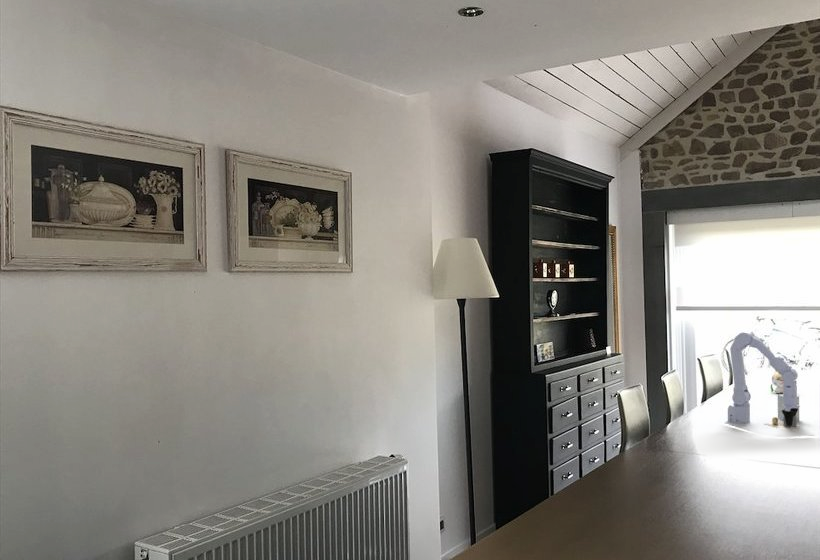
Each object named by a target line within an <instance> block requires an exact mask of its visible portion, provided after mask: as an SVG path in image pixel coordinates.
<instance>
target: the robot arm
mask: <svg viewBox="0 0 820 560" xmlns="http://www.w3.org/2000/svg"><path fill="white" fill-rule="evenodd" d="M747 347H750V348H754V349H756V350H758V351H759V352H760V353H761V354H762V355H763V356H764V357H766V358H767V360H768V361H769V366H770V367H772V368H773V370H774V371H777V372H778V373H779V374H780V375H782V376H781V377H782V379H783V393H782V395H783V407H785V410H782V413H783V415H784V417H785V421H786V425H787V426H792V422H793V417H794V416H796V413H797V411H798V408H796V407H799V408H800V407H801V405H800V404H799V405H797V396H798V385H797V379H798V378H799V377H798V376H799V375H798V372H797V371H796V369H794V368H793V367H792V366H790V365H789V364H788V363H787V362H786V361H785V358H784V357H781V356H776V355H775V354H774V353H773V352H772V351H771V350H770V349H769V348H768V347H767V345H766V344H765V343H764V342H763V341H762V340H761V339H760V338H759V337H758V336H757V335H755V333H754V332H752V331H744V332H743V331H742V332H740V333H738V334H737V335H736V336H735V337H734V340H733V341H732V343H731V346H730V348H729V349H730V350H729V351H730V358H731V366H732V374H733V381H734V382H733V383H734V387H733V394H732V396H731V397H732V398H731V399H732V402H733V403H732V404H730V405H729V406H728V407H727V422H731V423H734V424H736V423H737V424H738V423H740V424H741V423H751V405H750V402H749V401H750V400H751V398H752V397H751V393H750V392H749V391H750V390H749V388H748V385H747V384H746V383H747V382H746V375H745V367H744V357H743V351H745V349H746V348H747Z"/></svg>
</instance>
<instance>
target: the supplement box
mask: <svg viewBox="0 0 820 560" xmlns="http://www.w3.org/2000/svg"><path fill="white" fill-rule="evenodd" d="M797 405H800V396H798V395H797ZM796 408H798V411H797V413H796V418H797V422H798V421H800V407H796ZM782 410H785V407H783V394H777V418H778V420H779V419H780V420H781V421H784V415H783V413H782Z"/></svg>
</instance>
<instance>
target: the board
mask: <svg viewBox="0 0 820 560" xmlns="http://www.w3.org/2000/svg"><path fill="white" fill-rule="evenodd" d="M764 425H765V426H768V427H772V428H776V429H785V428H787V429H788V428H789V429H790V428H791V427H786V426H784V422H780V423H779V422H778V425H773V424H772V423H764ZM795 428H802V426H801V425H797V426H796V427H795Z"/></svg>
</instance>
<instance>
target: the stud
mask: <svg viewBox="0 0 820 560" xmlns="http://www.w3.org/2000/svg"><path fill="white" fill-rule="evenodd" d="M771 422H772V423H771V424H773V425H778V423H779V418H778V416H773V417H772V418H771Z"/></svg>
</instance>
